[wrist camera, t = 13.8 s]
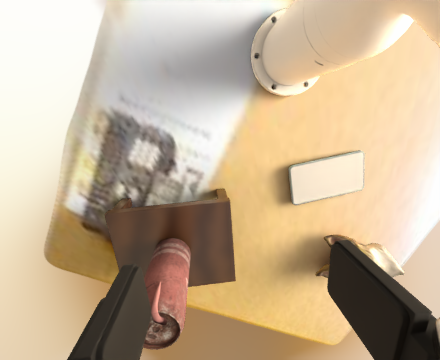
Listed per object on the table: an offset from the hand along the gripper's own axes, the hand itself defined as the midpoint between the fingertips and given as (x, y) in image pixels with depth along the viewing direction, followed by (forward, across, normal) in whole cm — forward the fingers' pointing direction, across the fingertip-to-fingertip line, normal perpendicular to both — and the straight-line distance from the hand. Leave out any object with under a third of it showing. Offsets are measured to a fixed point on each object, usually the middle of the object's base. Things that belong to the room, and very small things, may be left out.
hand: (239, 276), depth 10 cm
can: (+23, +9, +14) cm, 28 cm away
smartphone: (+30, -22, +6) cm, 38 cm away
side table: (+30, +8, +14) cm, 34 cm away
